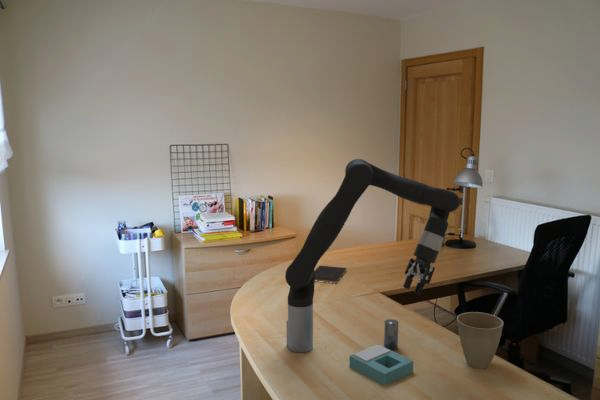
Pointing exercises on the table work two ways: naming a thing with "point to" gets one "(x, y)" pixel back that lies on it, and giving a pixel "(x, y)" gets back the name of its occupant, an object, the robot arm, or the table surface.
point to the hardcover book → (329, 273)
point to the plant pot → (479, 337)
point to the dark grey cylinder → (391, 334)
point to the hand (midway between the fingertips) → (411, 291)
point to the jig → (381, 364)
